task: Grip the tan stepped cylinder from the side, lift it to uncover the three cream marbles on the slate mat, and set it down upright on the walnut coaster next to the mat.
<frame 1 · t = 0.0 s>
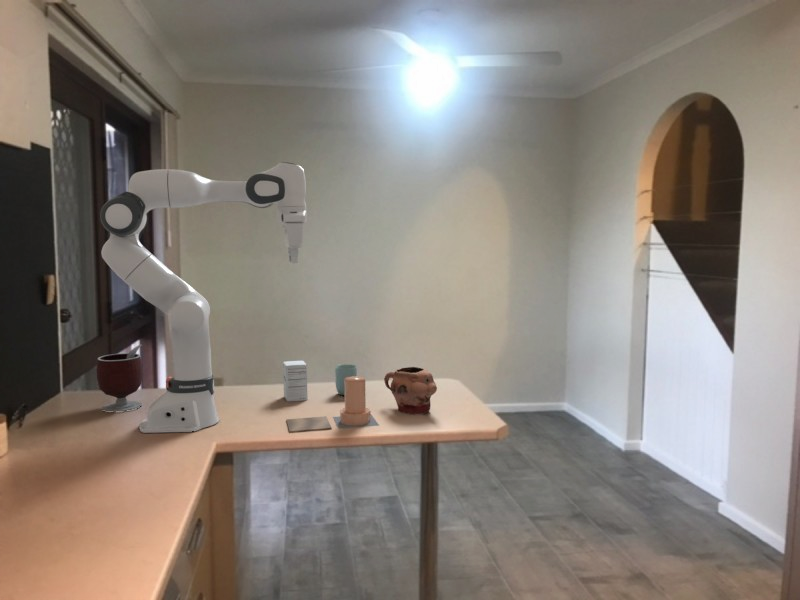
hand: (293, 262, 193), 48 cm above the counter, tool pointing down, fingers open, 8 cm apart
marble c: (361, 421, 189), point 1 cm above the counter, touching slate mat
tan stepped cylinder: (355, 421, 189), point 1 cm above the counter, touching slate mat
marble a: (354, 419, 191), point 1 cm above the counter, touching slate mat
slate mat: (355, 423, 189), on the counter
mate gourd: (124, 407, 209), on the counter
supplement box: (295, 399, 218), on the counter
sculpted character mug: (409, 411, 202), on the counter
marble b: (350, 422, 188), point 1 cm above the counter, touching slate mat
walnut coaster: (308, 426, 186), on the counter
cup: (346, 394, 224), on the counter
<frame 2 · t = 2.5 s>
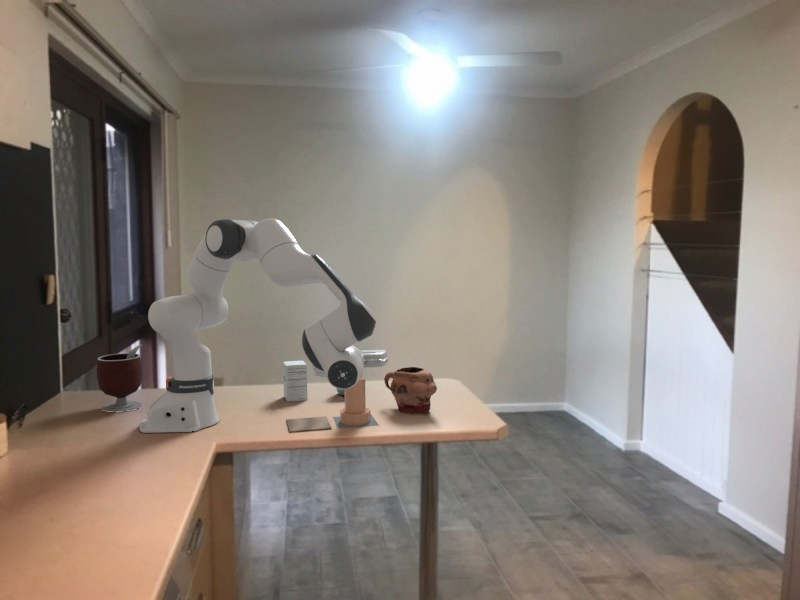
hand: (351, 354, 176), 23 cm above the counter, tool horizontal, fingers open, 8 cm apart
nothing on the counter moved.
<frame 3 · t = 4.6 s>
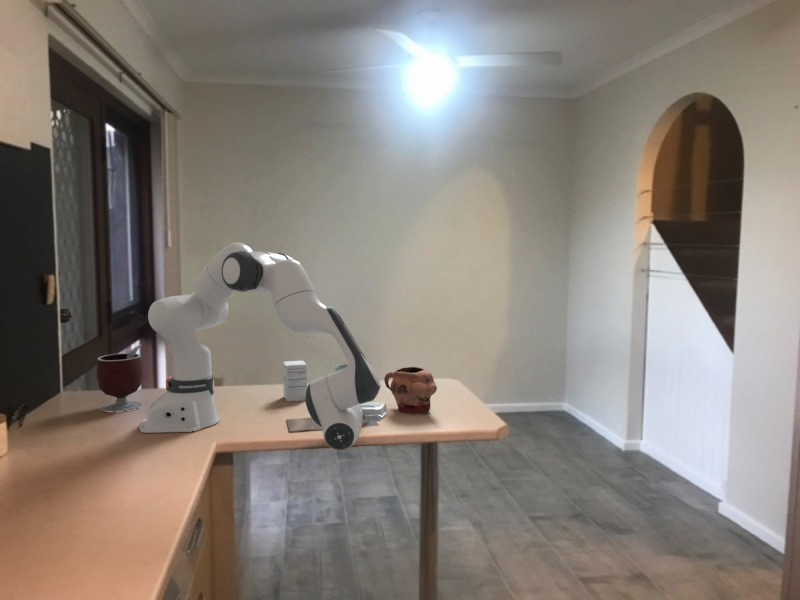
hand: (351, 403, 178), 9 cm above the counter, tool horizontal, fingers open, 8 cm apart
nothing on the counter moved.
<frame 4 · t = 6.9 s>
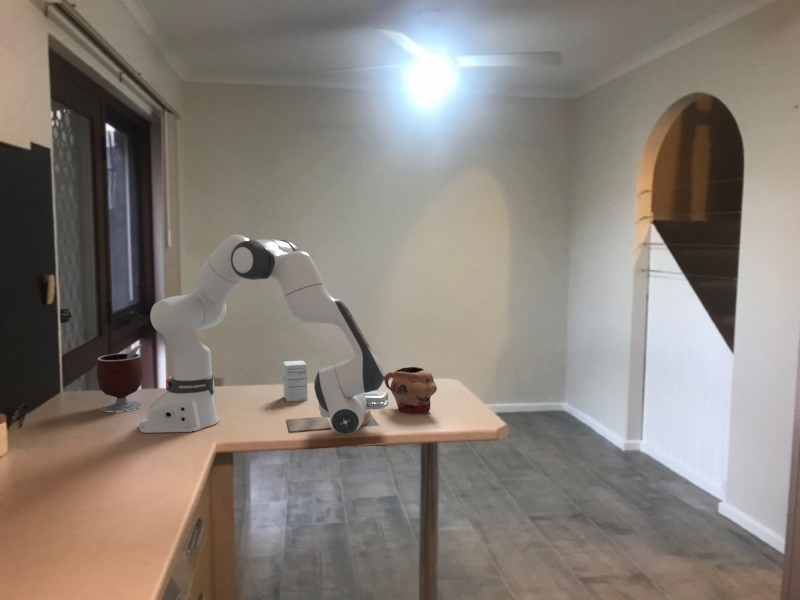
hand: (355, 392, 189), 9 cm above the counter, tool horizontal, fingers closed on tan stepped cylinder, 6 cm apart
tan stepped cylinder: (355, 421, 189), point 1 cm above the counter, touching gripper, slate mat
everything else where it was.
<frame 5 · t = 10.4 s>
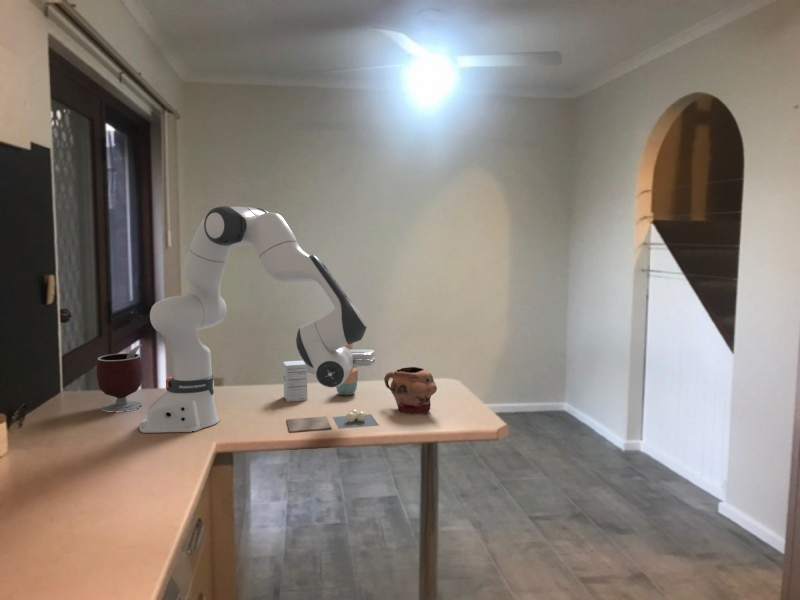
hand: (342, 352, 187), 22 cm above the counter, tool horizontal, fingers closed on tan stepped cylinder, 6 cm apart
tan stepped cylinder: (342, 380, 187), point 13 cm above the counter, touching gripper
everything else where it was.
when the fingers open (11 cm above the counter, at t = 13.8 s): tan stepped cylinder drops 1 cm, resting on walnut coaster.
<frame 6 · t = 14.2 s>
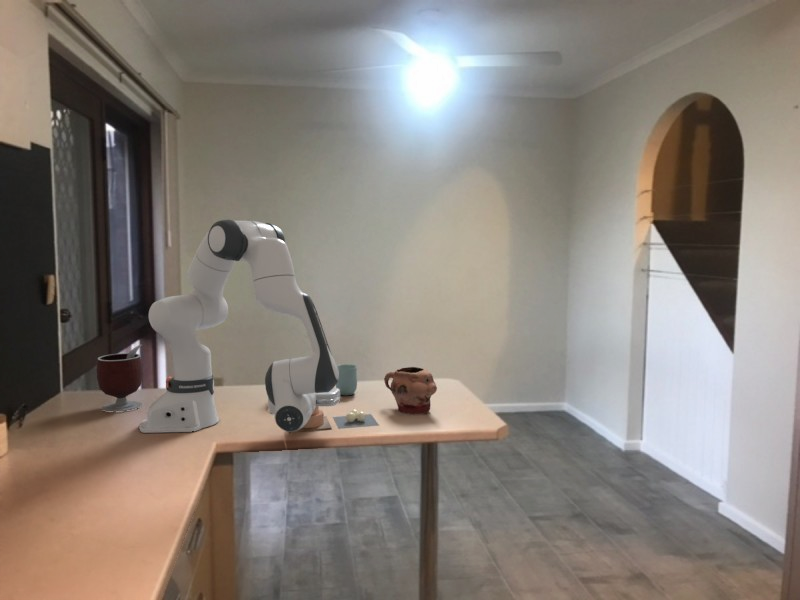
hand: (308, 389, 186), 11 cm above the counter, tool horizontal, fingers open, 8 cm apart
tan stepped cylinder: (308, 423, 186), point 1 cm above the counter, touching walnut coaster
everything else where it was.
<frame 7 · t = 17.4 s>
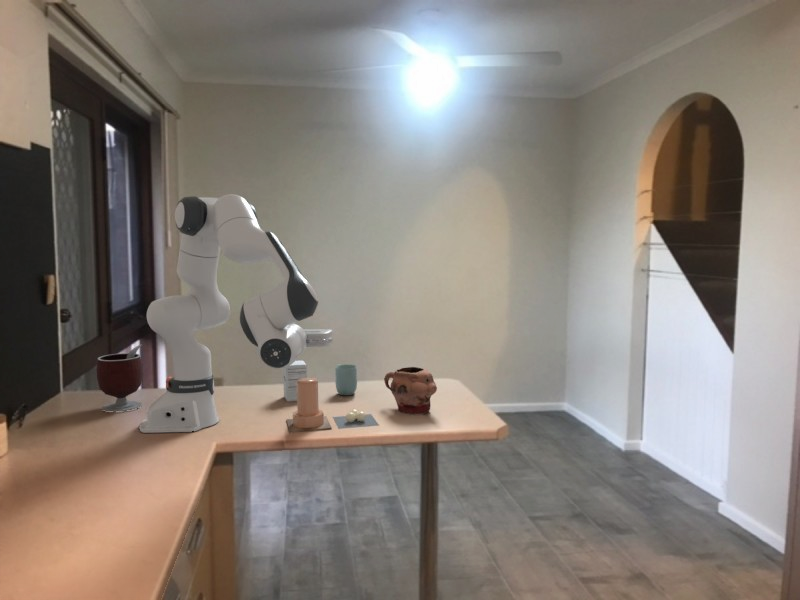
hand: (298, 332, 171), 30 cm above the counter, tool horizontal, fingers open, 8 cm apart
nothing on the counter moved.
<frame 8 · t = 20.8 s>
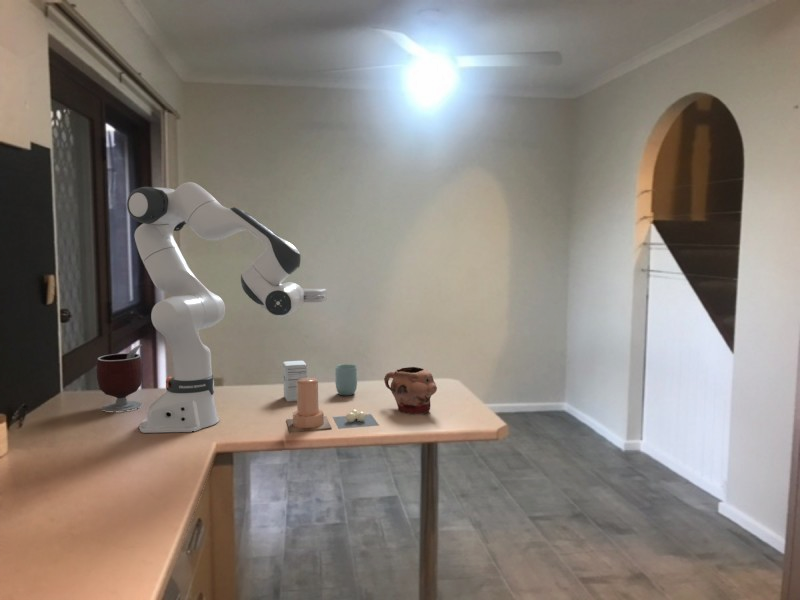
hand: (297, 293, 200), 38 cm above the counter, tool horizontal, fingers open, 8 cm apart
nothing on the counter moved.
at the end: tan stepped cylinder 0.1 cm off-centre on the walnut coaster, point 1.0 cm above the walnut coaster's base; tan stepped cylinder tilted 0°; the gripper is holding nothing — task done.
